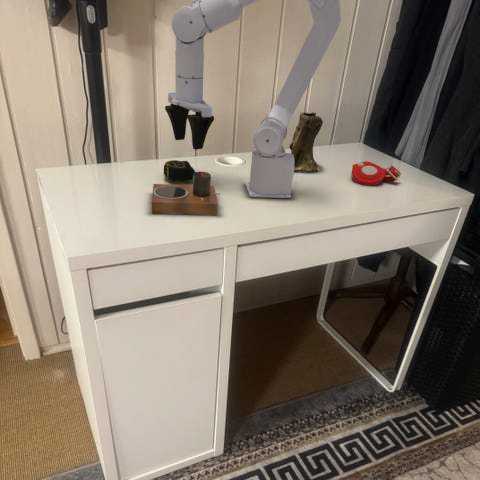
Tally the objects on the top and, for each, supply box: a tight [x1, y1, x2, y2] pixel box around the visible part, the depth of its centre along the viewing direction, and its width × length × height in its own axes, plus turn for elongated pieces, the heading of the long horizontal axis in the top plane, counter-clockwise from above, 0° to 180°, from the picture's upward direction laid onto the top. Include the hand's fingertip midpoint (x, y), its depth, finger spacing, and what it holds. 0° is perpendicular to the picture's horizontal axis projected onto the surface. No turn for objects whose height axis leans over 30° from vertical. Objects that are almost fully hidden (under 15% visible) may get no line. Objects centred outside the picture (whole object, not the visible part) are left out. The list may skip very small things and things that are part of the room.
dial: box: [192, 171, 212, 197], centre depth 95 cm, size 4×4×4 cm
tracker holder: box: [351, 160, 403, 186], centre depth 119 cm, size 12×4×10 cm
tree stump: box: [289, 111, 324, 172], centre depth 120 cm, size 10×10×13 cm
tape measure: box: [163, 159, 196, 183], centre depth 108 cm, size 7×7×4 cm
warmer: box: [151, 183, 221, 216], centre depth 96 cm, size 14×10×3 cm
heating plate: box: [154, 186, 188, 199], centre depth 95 cm, size 7×7×1 cm
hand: (188, 144), depth 104 cm, fingers open, 7 cm apart
